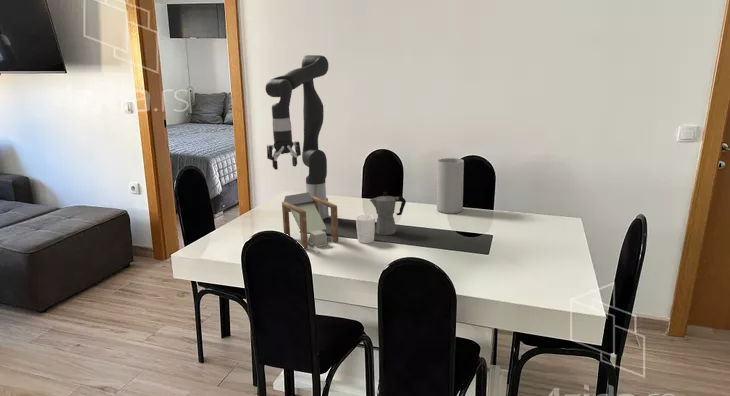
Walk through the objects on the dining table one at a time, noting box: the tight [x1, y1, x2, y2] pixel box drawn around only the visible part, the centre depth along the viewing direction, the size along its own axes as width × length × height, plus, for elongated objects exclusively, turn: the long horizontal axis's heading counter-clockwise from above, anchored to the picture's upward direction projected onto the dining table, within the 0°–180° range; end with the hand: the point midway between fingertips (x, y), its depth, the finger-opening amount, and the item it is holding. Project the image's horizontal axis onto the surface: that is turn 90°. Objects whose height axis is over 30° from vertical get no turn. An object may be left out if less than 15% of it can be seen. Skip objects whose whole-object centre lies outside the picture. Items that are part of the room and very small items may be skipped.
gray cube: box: [309, 230, 328, 248], centre depth 211 cm, size 5×5×5 cm
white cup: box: [355, 214, 376, 244], centre depth 212 cm, size 8×8×10 cm
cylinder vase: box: [436, 157, 465, 215], centre depth 251 cm, size 12×12×25 cm
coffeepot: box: [369, 191, 407, 236], centre depth 222 cm, size 15×9×18 cm, turn 92°
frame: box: [281, 196, 339, 250], centre depth 215 cm, size 16×19×16 cm
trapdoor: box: [283, 192, 328, 235], centre depth 218 cm, size 20×11×5 cm
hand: (285, 167), depth 216 cm, fingers open, 8 cm apart
